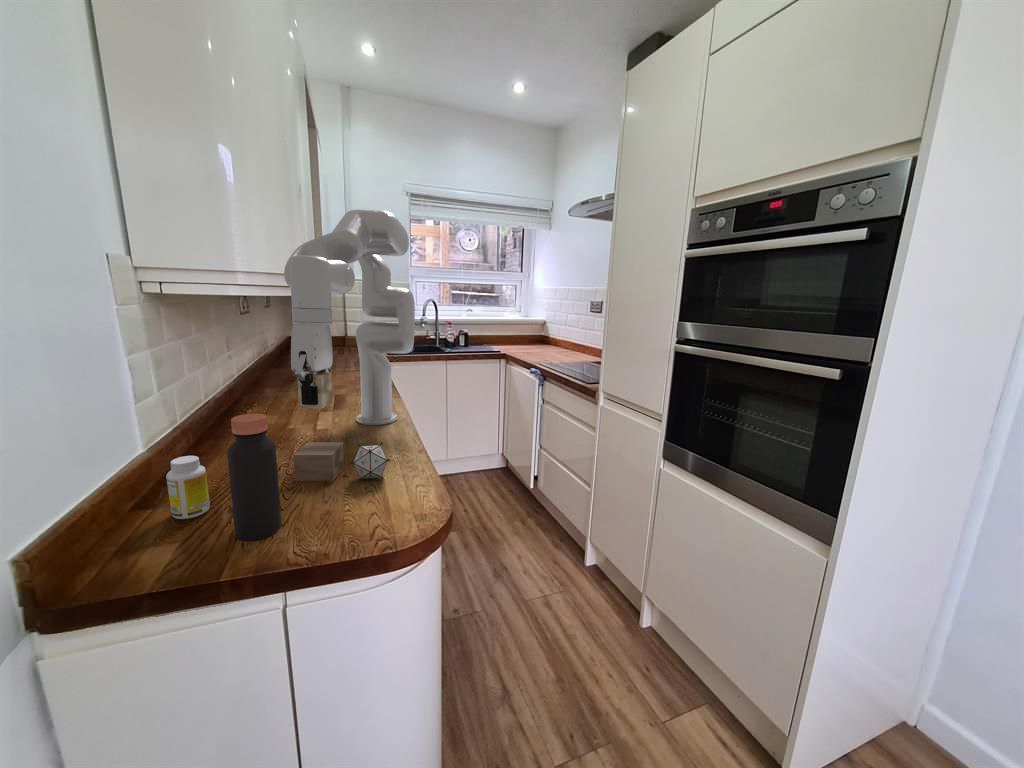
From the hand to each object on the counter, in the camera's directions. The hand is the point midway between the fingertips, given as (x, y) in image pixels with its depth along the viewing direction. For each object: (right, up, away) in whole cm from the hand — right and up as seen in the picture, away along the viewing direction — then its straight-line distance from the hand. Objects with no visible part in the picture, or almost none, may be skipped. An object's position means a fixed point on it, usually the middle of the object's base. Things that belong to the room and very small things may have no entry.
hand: (316, 400), depth 91 cm
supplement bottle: (-15, -20, -15) cm, 29 cm away
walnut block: (-1, -17, +4) cm, 17 cm away
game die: (+11, -18, +2) cm, 21 cm away
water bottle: (0, -22, -20) cm, 29 cm away
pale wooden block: (0, -1, 0) cm, 1 cm away
